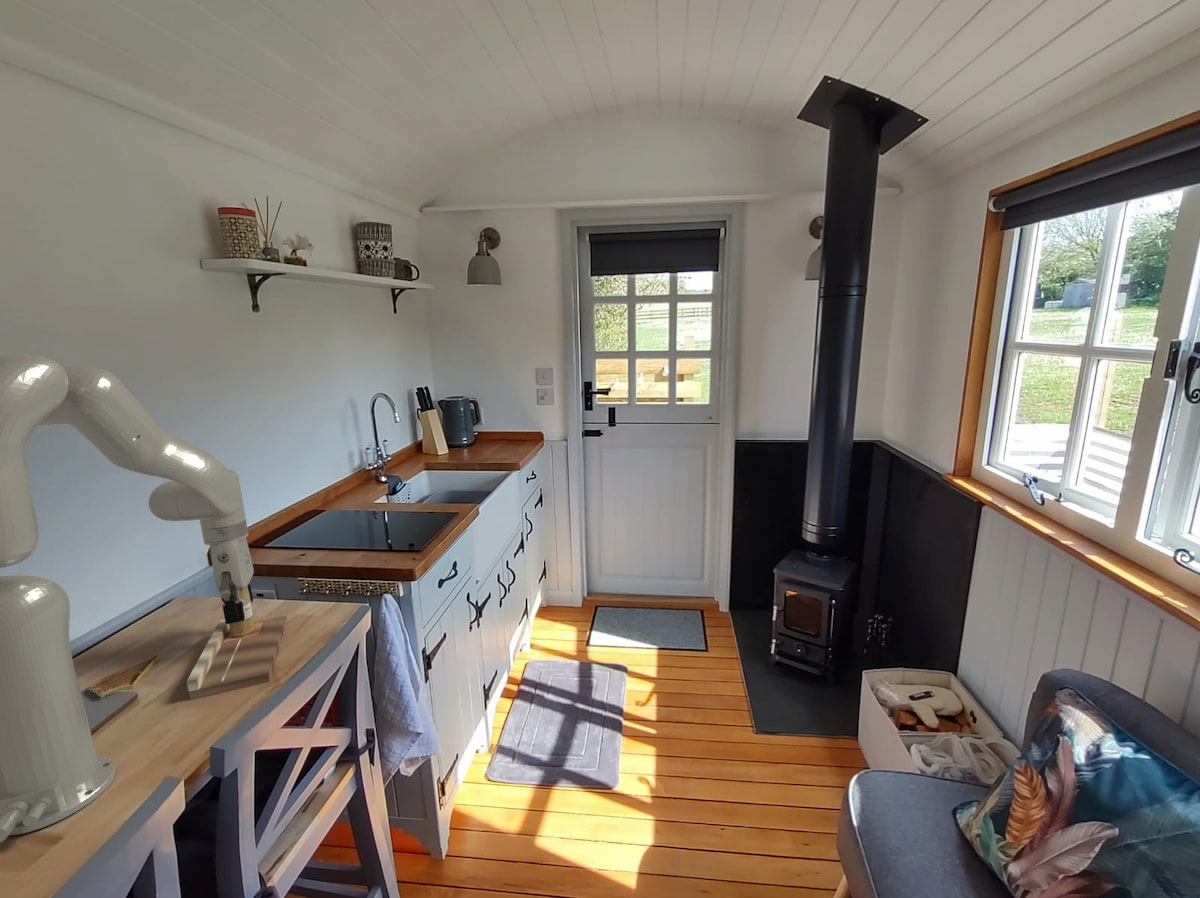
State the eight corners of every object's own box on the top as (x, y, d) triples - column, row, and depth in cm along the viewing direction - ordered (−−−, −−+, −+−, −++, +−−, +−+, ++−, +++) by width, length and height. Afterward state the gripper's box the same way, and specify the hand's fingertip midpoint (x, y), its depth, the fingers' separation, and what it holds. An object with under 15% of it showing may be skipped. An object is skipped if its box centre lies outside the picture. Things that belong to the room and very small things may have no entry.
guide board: (269, 681, 101) (266, 663, 100) (190, 699, 96) (186, 681, 96) (287, 622, 123) (284, 607, 122) (223, 635, 118) (220, 619, 118)
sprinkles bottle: (235, 640, 113) (224, 577, 110) (226, 634, 115) (214, 573, 113) (260, 630, 116) (249, 569, 114) (250, 624, 119) (239, 565, 116)
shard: (159, 661, 110) (157, 653, 110) (176, 672, 106) (174, 663, 106) (88, 692, 101) (85, 683, 101) (104, 704, 97) (101, 695, 97)
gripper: (238, 541, 105) (253, 627, 109) (255, 517, 121) (267, 592, 125) (190, 549, 103) (207, 636, 106) (214, 522, 118) (228, 599, 122)
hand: (240, 612), depth 115 cm, fingers open, 8 cm apart
